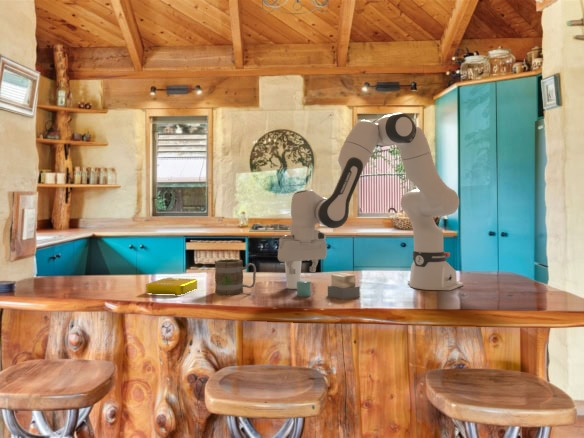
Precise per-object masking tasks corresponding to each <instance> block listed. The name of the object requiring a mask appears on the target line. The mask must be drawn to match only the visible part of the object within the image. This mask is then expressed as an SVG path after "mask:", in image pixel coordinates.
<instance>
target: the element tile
mask: <svg viewBox="0 0 584 438" xmlns="http://www.w3.org/2000/svg"><path fill="white" fill-rule="evenodd" d="M194 289H197V290H198V279H197V278H177V277H176V278H175V277H164V278H161V279H158V280H155V281H151V282H148V283H146V284H145V294H146V293H152V294H175V295H181V294H185V293H187V292H189V291H192V290H194Z"/></svg>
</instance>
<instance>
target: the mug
mask: <svg viewBox="0 0 584 438" xmlns="http://www.w3.org/2000/svg"><path fill="white" fill-rule="evenodd" d="M243 264H244V261H243V260H242V259H236V258H235V259H229V258H228V259H217V260H214V267H215V268H214V269H215V270H214V280H215V281H214V282H215V283H214V284H215V285H214V287H215V289H214V293H215V295H217V294H218V295H217V296H223V295H225V296H227V297H228V296H229V295H230V296H239V295H241V294H243V293H244V288H247V289H252V288H254V286H255V284H256V279H257V278H256V277H257V276H256V275H257V268H256V265H255V264H254V263H251V262H249V263H247V264H246V265H245V266H244V265H243ZM249 266H252V267H253V274H252V279H253V280H252V284H251V285H248V284H244V283H243V282H244V271H243V270H246V269H247V268H248V267H249Z"/></svg>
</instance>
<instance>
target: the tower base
mask: <svg viewBox="0 0 584 438" xmlns="http://www.w3.org/2000/svg"><path fill="white" fill-rule="evenodd" d="M360 290H361V288H360V286H358V285H355V286H354V287H348V288H339V287H335V286H331V284H330V285H327V297H329V298H335V299H338V300H341V301H342V300H343V301H344V300H350V299H354V298H359V297H360V294H361V293H360Z"/></svg>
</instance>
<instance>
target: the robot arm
mask: <svg viewBox="0 0 584 438" xmlns="http://www.w3.org/2000/svg"><path fill="white" fill-rule="evenodd" d="M345 138H346V139H345V140H344V141H343V142H344V143H343V144H342V146H341V149H340V151H339V155H338V161H337V162H338V164H339V167H340V168H341V172H340V176H339V179H338V180H337V183H336V185H335V187H334V190H333V192H332V194H331V195H330V196H329V197H328V198H326V197H324V196H322V195H320V194H319V193H317V192H315V191H314V190H313V189H305V190H304V189H303V190H300V191H296V192H294V194H293V195H292V198H291V205H290V216H291V224H290V234H288V235H282V236H281V237H280V238H279V240H278V249H277V260H278V261H279V262H281V263H285V262H286V264H287V266H288V268H289V274H295V269H293V267H292V265H293V261H302V262H303V261H311V263H312V264H311V266H309V272H310V273H315V272H316V270H317V267H318V263H319V260H325V259H326V257H327V255H328V254H327V252H328V251H327V250H328V249H327V247H328V246H327V242H326V239H327V235H326V233H324V232H321V231H320V230H317V229H316V224H319V225H322V226H324V227H328V228H329V229H336V228H340V227H342V226H343V225H344V224H345V223H346V221H348V218H349V212H350V211H349V209H350V202H351V198H352V196H353V194H354V192H355V190H356V187H357V185H358V182H359V180H360V177H361V175H362V173H363V172H364V170H365V168H366V166H367V164H368V162H369V160H371V157H372V155H373V153H374V150H375V148H376V147H390V146H394V145H395V146H396V147H397V148H398V150H399V152H400V158H401V162H402V165H403V170H404V173H405V176H406V179H407V180H408V181H409V182H411V183H413V184H414V186H415V187H416V188H417V189H411V190H410V191H407V192H405V193H404V194H403V195H402V196H401V199H400V208H401V210H402V211H403V213H404V214H406V216H407V218H408V219H409V222H410V224H411V228H412V234H413V251H412V260H413V262H412V264H411V265H410V277H409V280H408V283H407V284H408V285H409V287H411V288H414V289H419V290H424V291H452V290H455V289H457V288H459V287H462V286H464V283H463V282H460V281H457V271H456V270H455V269H454V268H453V266H451V265H450V264H449V262H447V258H449V257H450V255H451V253H450V252H449V251H448V252H445V251H444V232H443V229H441V228H440V227H439V226H438V225H437V224H436V221H435V219H434V217H445V216H450V215H453V214H455V213H456V211H457V210H458V209H459V206H460V198H459V195H458V193H457V192H456V191H455V190H454V189H452V188H451V187H449V186H448V185H447V184H446V182H444V181H443V179H442V177H441V176H440V175H439V173H438V170H437V169H436V165H435V162H434V159H433V156H432V155H433V154H432V151H431V147H430V146H429V145H430V144H429V142H428V140H427V136H426V135H425V133H424V131H423V129H422V128H421V127H419V126H416V124H415V122H414V120H413V119H412V118H411V116H410V115H408V114H406V113H404V112H395V113H391V114H386V115H384V116H382V117H380V118H378V119H375V120H373V121H370V120H365V119H362V120H359V121H357V123H355V125H353V127H352V129H351V130H350V132H349V133H348V135H347V136H346V137H345Z"/></svg>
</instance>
